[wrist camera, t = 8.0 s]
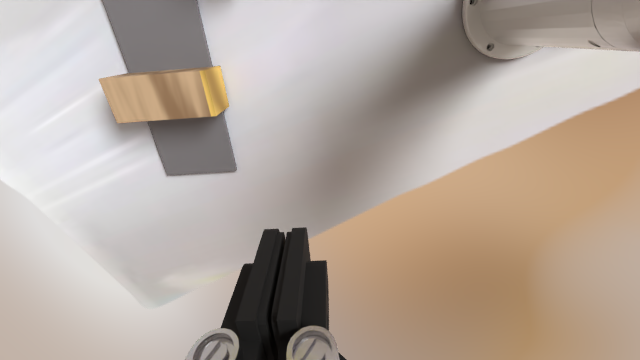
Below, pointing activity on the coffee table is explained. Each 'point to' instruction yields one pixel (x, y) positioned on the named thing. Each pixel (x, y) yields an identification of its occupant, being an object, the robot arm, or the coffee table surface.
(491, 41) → the robot arm
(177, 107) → the oak block
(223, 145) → the mat
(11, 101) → the coffee table surface
